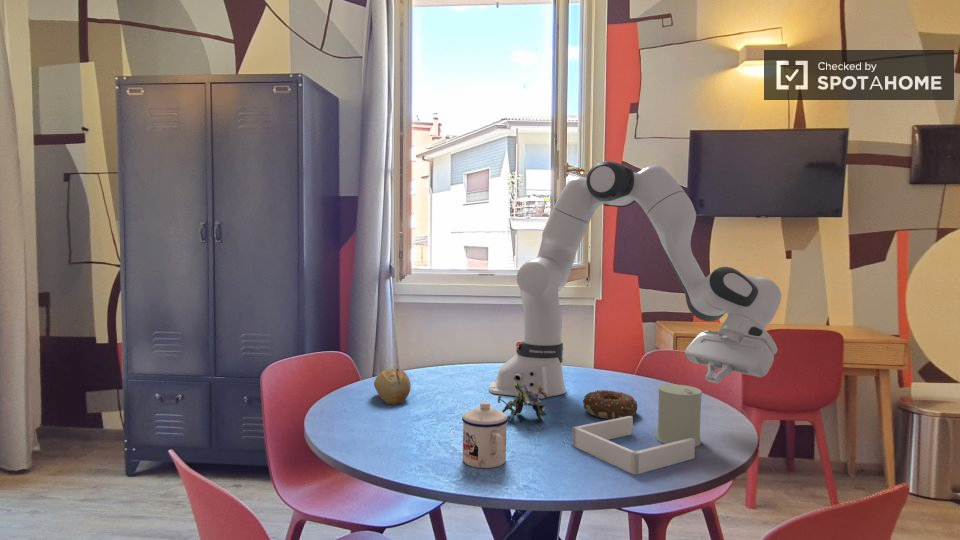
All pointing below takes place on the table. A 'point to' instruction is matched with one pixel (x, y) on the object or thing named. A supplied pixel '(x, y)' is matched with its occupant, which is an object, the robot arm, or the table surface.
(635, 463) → the tray
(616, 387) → the table surface
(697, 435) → the can
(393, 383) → the bread roll
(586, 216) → the robot arm
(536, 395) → the passion flower
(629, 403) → the donut
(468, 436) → the teacup with lid
